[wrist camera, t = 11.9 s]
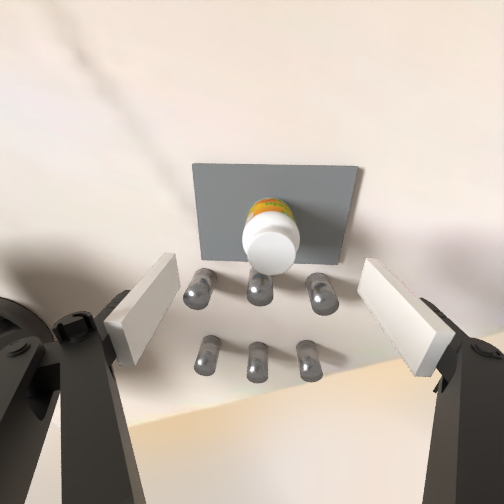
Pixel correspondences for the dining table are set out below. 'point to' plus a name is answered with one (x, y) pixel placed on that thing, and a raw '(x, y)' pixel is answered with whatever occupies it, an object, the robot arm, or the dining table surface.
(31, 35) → the dining table surface
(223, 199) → the slate mat
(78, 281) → the dining table surface
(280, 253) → the supplement bottle
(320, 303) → the spacer field
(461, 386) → the robot arm
